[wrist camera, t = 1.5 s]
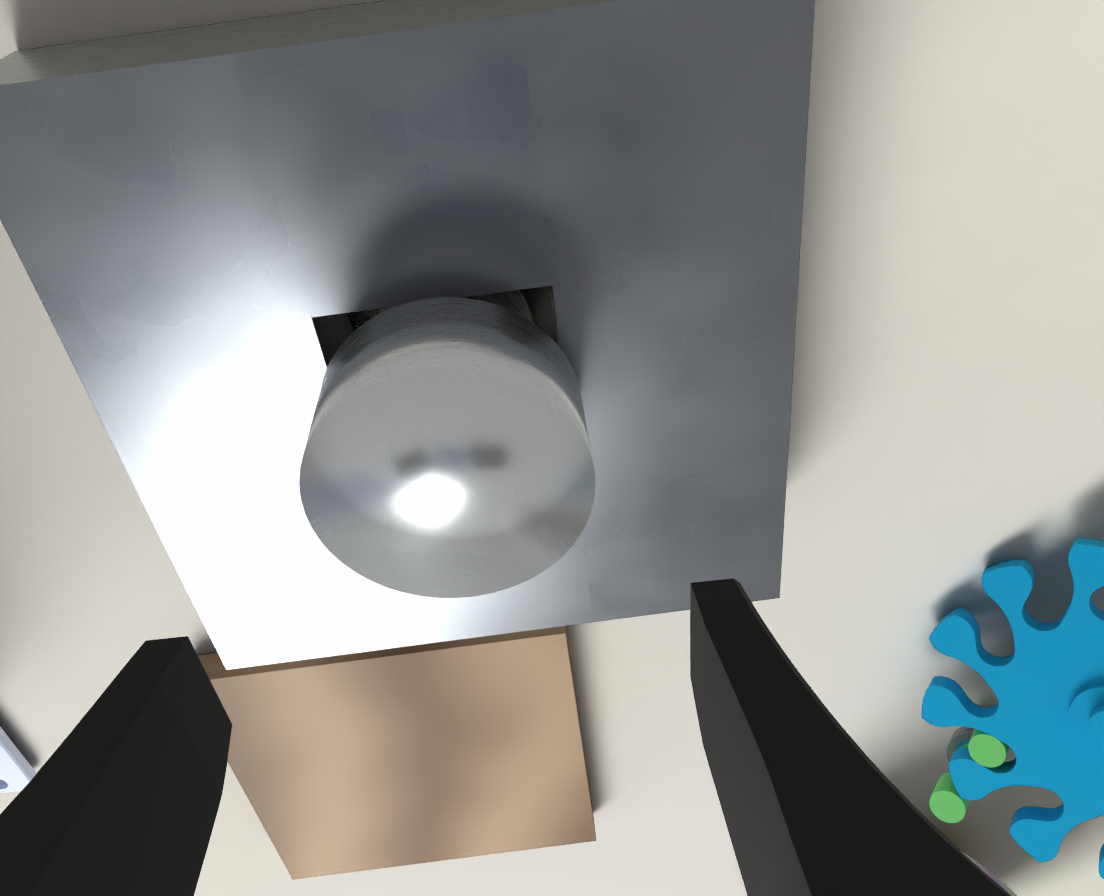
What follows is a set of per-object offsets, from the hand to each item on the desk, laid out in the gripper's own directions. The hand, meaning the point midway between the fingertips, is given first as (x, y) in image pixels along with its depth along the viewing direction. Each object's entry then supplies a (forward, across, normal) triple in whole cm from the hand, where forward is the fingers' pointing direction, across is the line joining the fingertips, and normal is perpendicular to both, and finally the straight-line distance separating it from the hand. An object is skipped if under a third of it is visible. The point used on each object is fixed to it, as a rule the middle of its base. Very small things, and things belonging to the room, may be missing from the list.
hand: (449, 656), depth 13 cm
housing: (+10, 0, 0) cm, 10 cm away
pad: (+9, +4, +15) cm, 18 cm away
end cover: (+10, 0, 0) cm, 10 cm away
